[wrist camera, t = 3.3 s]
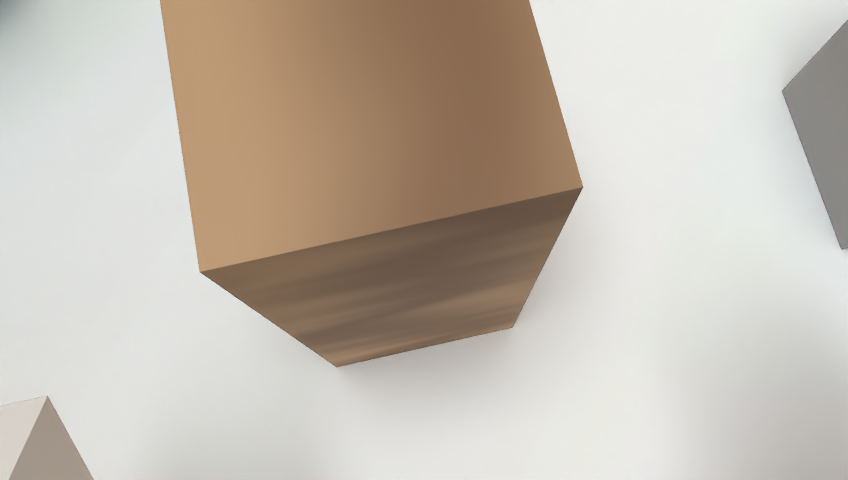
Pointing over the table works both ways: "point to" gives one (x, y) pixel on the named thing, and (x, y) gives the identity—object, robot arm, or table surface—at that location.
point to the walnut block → (370, 164)
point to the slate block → (825, 124)
